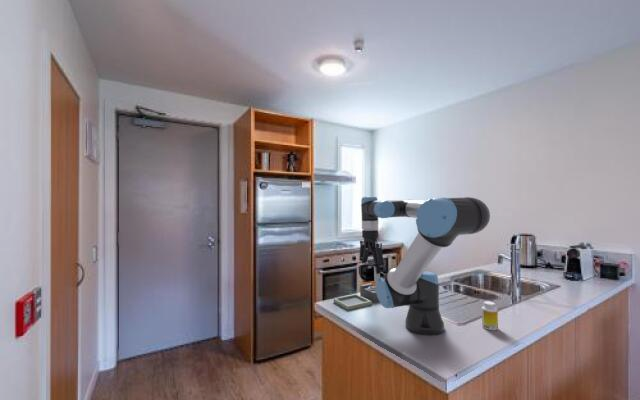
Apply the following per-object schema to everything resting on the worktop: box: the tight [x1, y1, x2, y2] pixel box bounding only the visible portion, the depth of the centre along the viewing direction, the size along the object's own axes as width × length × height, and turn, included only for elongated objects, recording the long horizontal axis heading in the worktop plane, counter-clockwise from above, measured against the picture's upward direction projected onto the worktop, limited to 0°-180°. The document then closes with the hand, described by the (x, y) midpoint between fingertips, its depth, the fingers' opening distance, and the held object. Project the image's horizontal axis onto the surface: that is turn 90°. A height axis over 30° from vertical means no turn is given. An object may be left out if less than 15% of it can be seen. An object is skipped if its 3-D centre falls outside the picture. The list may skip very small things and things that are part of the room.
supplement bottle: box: [481, 300, 499, 331], centre depth 117 cm, size 6×6×10 cm
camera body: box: [359, 282, 379, 303], centre depth 156 cm, size 12×7×6 cm, turn 28°
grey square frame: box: [333, 293, 373, 312], centre depth 148 cm, size 14×14×2 cm
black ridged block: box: [358, 263, 385, 283], centre depth 134 cm, size 10×7×7 cm
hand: (371, 278), depth 134 cm, fingers closed on black ridged block, 8 cm apart
